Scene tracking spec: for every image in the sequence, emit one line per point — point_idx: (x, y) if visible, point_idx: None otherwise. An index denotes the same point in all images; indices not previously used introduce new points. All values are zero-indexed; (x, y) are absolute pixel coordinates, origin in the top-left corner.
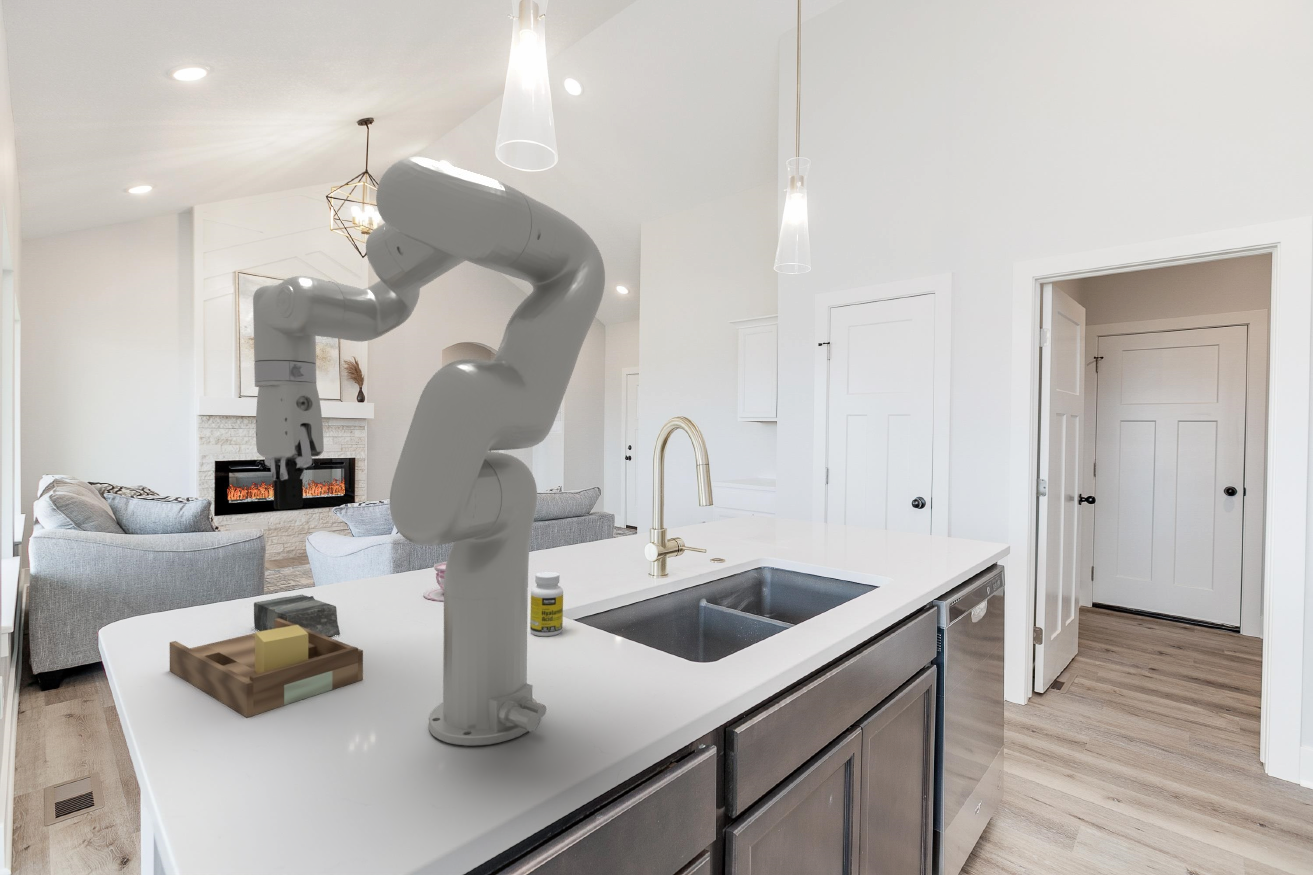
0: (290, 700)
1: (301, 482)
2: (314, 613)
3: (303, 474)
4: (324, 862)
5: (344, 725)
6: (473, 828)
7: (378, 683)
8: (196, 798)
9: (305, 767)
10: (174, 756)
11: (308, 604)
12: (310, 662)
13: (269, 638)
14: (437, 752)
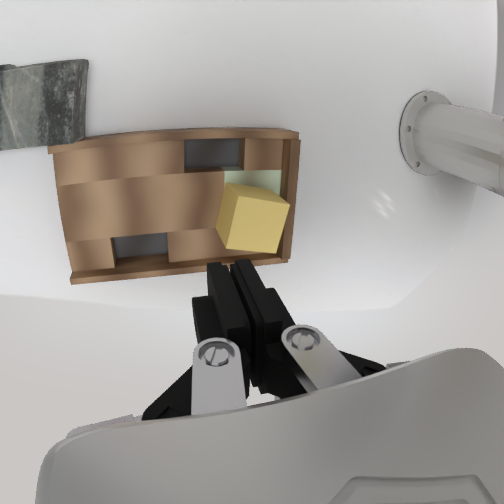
0: None
1: (275, 314)
2: (75, 98)
3: (324, 339)
4: (434, 269)
5: (355, 199)
6: (465, 218)
7: (306, 124)
8: (354, 297)
9: (378, 245)
10: (295, 298)
11: (24, 91)
12: (295, 200)
13: (268, 244)
14: (427, 183)
